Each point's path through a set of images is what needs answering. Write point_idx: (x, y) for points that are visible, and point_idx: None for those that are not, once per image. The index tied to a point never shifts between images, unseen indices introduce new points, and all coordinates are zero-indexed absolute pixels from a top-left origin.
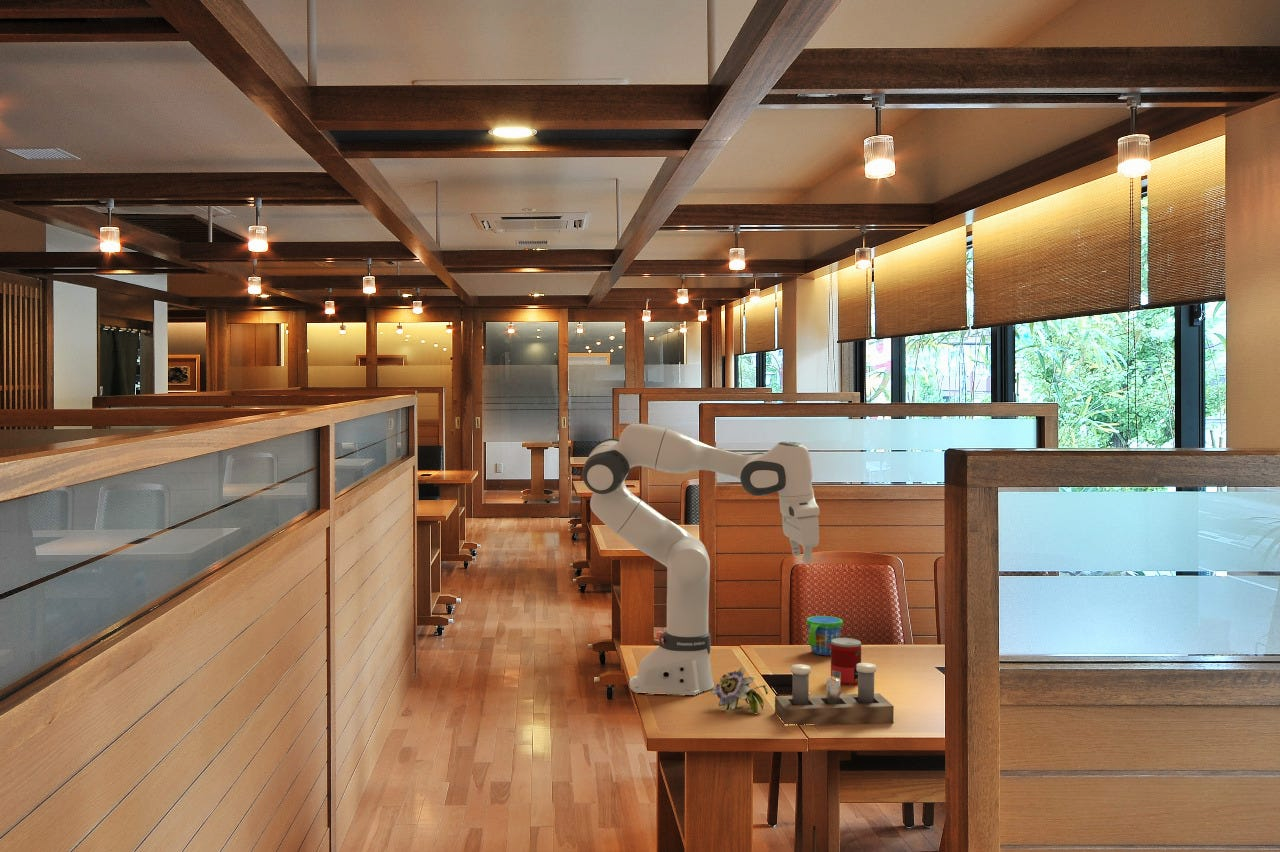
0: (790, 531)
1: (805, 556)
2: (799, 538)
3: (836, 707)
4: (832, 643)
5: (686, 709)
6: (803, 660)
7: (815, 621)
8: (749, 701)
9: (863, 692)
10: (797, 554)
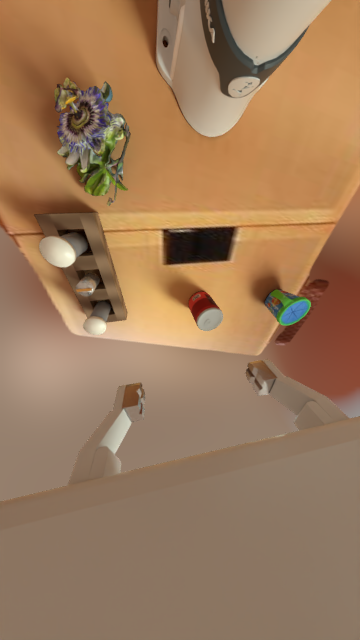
0: (324, 523)
1: (114, 410)
2: (52, 571)
3: (68, 279)
4: (209, 308)
5: (73, 7)
6: (262, 279)
7: (297, 305)
8: (77, 166)
9: (93, 309)
10: (250, 370)
